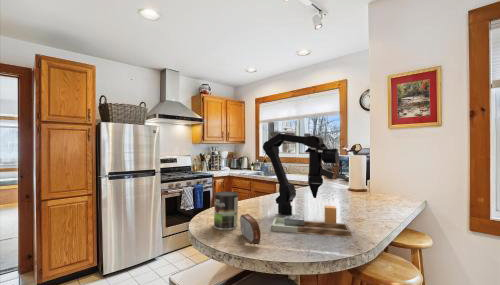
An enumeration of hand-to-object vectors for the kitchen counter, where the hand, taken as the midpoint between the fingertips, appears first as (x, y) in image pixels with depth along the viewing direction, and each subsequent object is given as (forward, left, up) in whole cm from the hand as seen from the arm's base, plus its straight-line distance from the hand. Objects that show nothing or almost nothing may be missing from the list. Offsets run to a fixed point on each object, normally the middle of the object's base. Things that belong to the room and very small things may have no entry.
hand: (314, 195), depth 110 cm
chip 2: (-7, -15, -11) cm, 19 cm away
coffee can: (-37, -17, -12) cm, 43 cm away
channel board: (+3, -14, -12) cm, 19 cm away
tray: (-12, -14, -12) cm, 22 cm away
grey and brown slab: (-24, -29, -12) cm, 40 cm away
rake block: (+7, -4, -12) cm, 14 cm away
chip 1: (-11, -15, -11) cm, 21 cm away
